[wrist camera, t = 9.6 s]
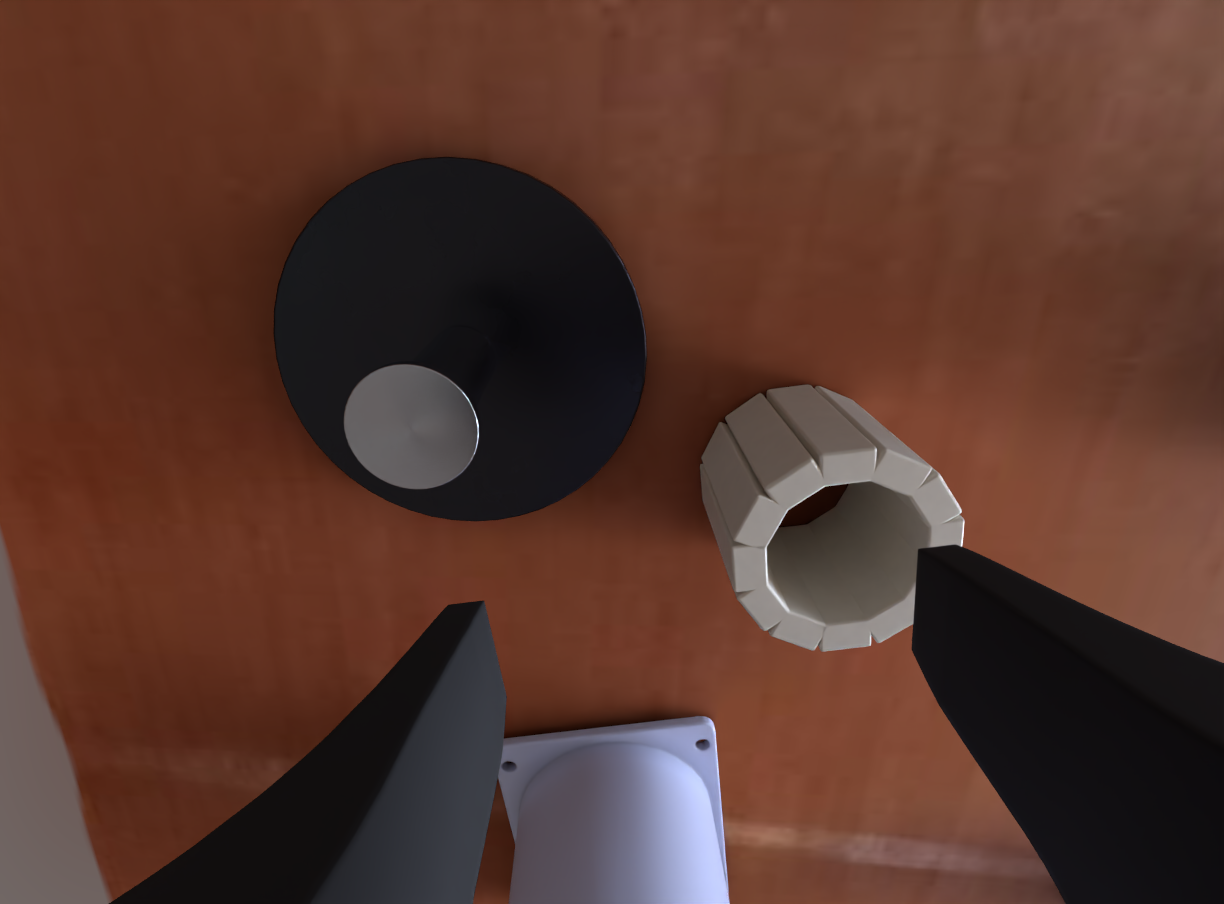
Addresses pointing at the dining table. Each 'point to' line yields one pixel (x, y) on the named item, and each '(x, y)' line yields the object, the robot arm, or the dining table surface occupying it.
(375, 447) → the stand
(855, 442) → the cream faceted cylinder
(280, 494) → the dining table surface
